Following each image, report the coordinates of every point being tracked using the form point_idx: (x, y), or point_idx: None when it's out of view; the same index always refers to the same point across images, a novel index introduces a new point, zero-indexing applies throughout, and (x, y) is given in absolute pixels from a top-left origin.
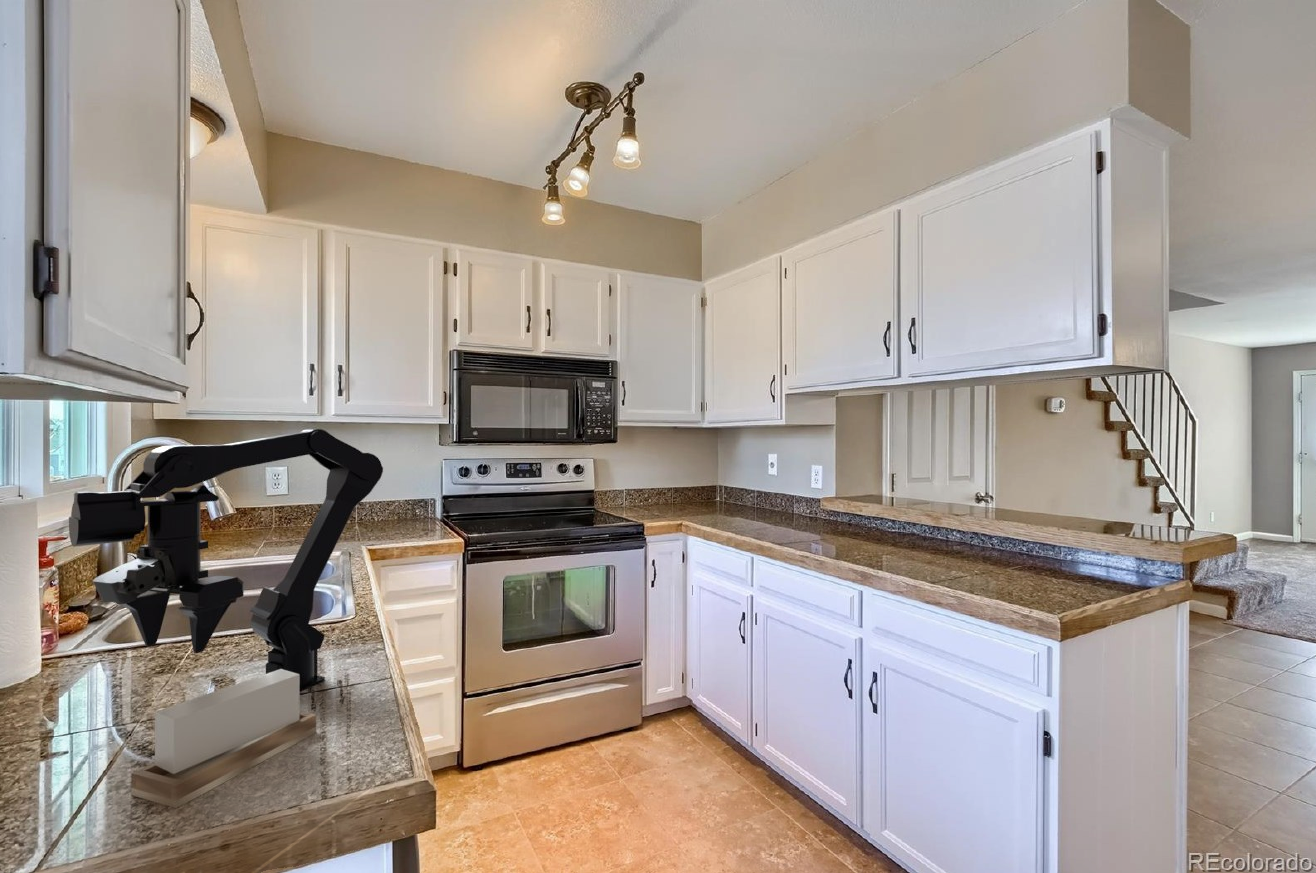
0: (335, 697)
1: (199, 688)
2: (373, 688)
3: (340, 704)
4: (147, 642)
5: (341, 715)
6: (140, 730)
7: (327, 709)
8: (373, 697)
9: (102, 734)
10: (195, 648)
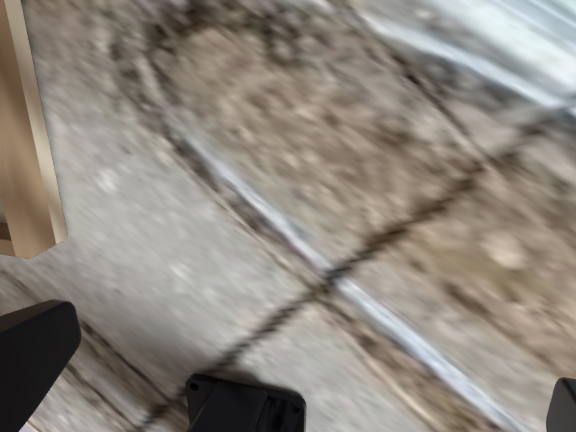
0: (96, 379)
1: (534, 403)
2: (68, 424)
3: None
4: (571, 398)
5: (3, 305)
6: (410, 114)
7: None
8: None
9: (532, 44)
10: (21, 311)
